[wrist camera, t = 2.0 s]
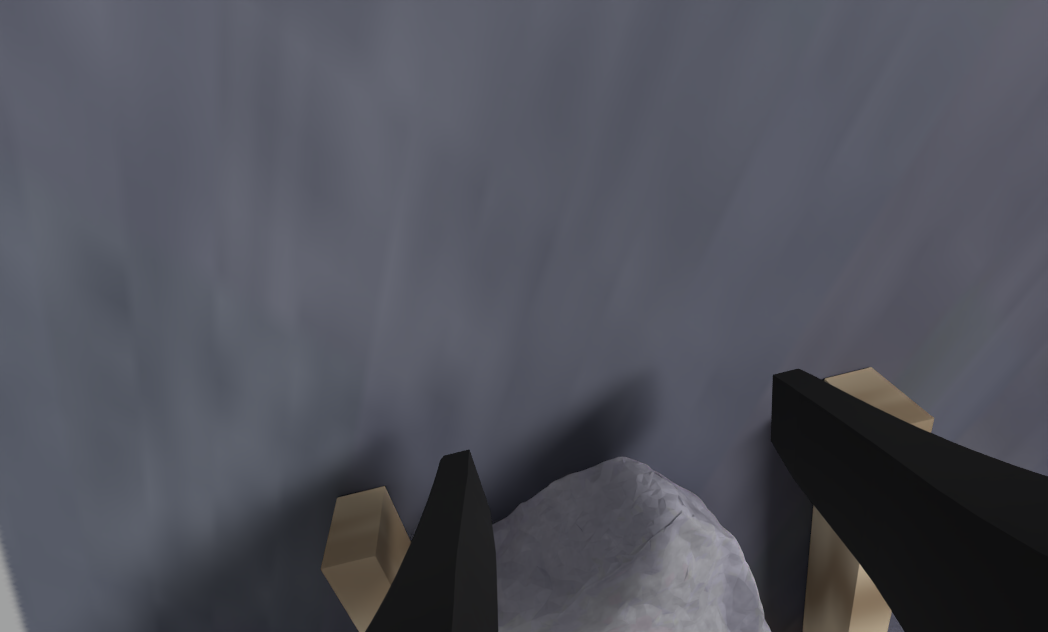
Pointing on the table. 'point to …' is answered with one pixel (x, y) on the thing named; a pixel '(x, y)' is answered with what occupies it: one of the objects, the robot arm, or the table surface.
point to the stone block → (621, 559)
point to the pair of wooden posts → (833, 572)
